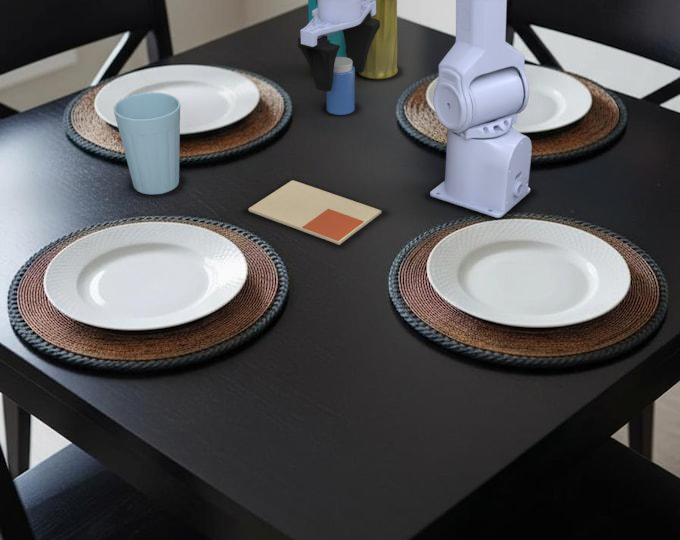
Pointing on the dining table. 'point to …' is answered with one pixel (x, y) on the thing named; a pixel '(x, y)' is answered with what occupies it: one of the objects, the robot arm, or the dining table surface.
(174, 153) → the cup
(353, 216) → the place mat
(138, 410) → the dining table surface
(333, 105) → the salt shaker
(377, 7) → the vase
